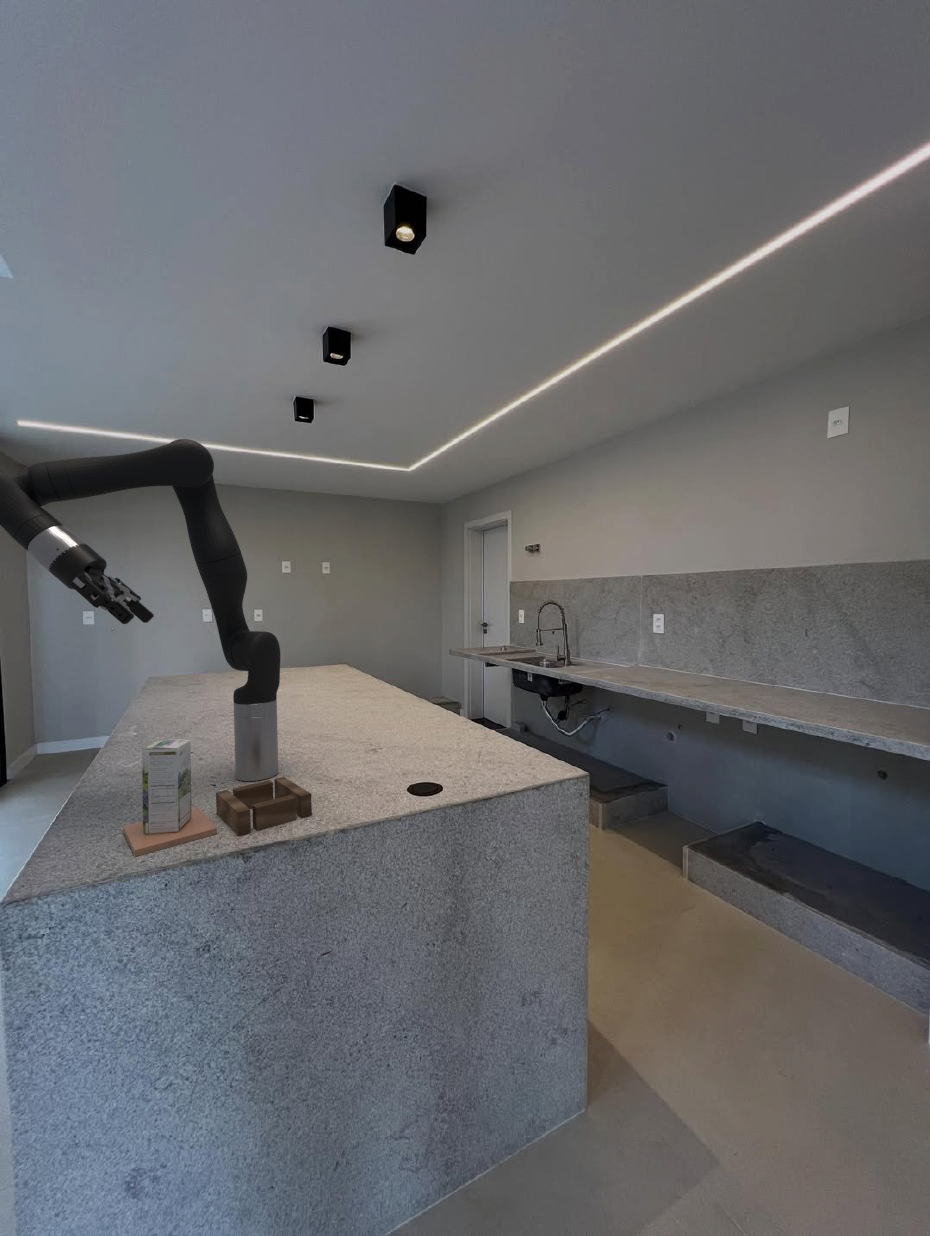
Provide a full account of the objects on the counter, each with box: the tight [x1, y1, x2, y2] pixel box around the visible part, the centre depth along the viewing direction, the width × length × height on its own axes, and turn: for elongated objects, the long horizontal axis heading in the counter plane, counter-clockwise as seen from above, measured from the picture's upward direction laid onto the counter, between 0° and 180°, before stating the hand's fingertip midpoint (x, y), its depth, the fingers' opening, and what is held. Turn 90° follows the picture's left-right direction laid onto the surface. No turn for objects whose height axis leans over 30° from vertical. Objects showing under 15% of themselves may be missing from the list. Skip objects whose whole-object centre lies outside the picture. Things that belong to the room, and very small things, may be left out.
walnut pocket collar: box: [215, 776, 313, 837], centre depth 97 cm, size 13×13×4 cm
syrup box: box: [141, 738, 192, 834], centre depth 89 cm, size 6×6×14 cm
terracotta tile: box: [122, 807, 218, 857], centre depth 89 cm, size 12×12×1 cm
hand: (140, 620), depth 95 cm, fingers open, 8 cm apart
